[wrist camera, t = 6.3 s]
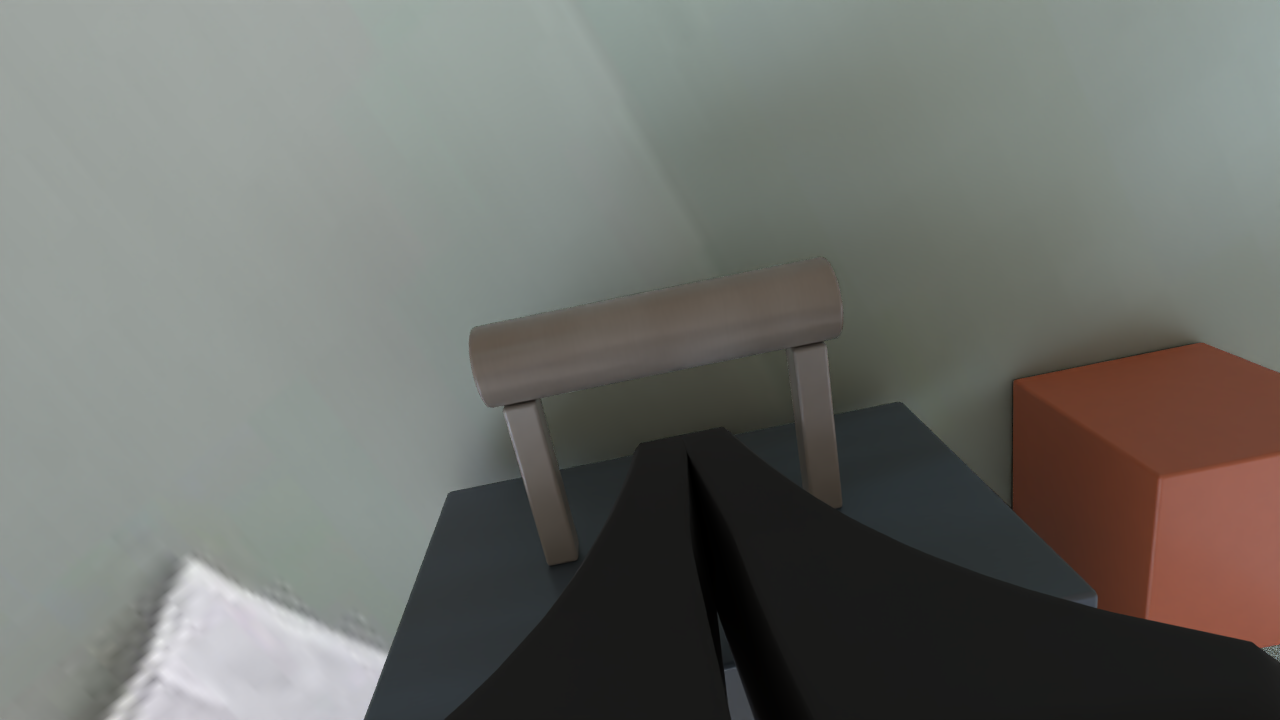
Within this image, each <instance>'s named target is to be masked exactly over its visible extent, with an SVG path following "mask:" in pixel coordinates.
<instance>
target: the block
mask: <svg viewBox="0 0 1280 720" xmlns="http://www.w3.org/2000/svg"><path fill="white" fill-rule="evenodd" d="M1013 511H1014V512H1015V513H1016V514H1017V515H1018V516H1019V517H1020V518H1021V519H1022V520H1023V521H1024V522H1025V523H1026V524H1028V525H1029V526H1030V527H1031V528H1032V529H1033V530H1034V531H1035V532H1036V533H1037V534H1038V535H1039V536H1040V537H1041V538H1042V539H1043V540H1044V541H1045V542H1046V543H1047V544H1048V545H1049V546H1050V547H1051V548H1052V549H1053V550H1054V551H1055V552H1056V553H1057V554H1058V555H1059V556H1060V557H1061V558H1062V559H1063V560H1064V561H1066V562H1067V563H1068V564H1069V565H1070V566H1071V567H1072V568H1073V569H1074V570H1075V571H1076V572H1077V573H1078V574H1079V575H1080V576H1081V577H1082V578H1083V579H1084V580H1085V581H1086V582H1087V583H1088V584H1089V585H1090V586H1091V587H1092V588H1093V589H1094V590H1095V591H1096V593H1097V596H1098V605H1097V608H1098V609H1102V610H1106V611H1110V612H1114V613H1119V614H1124V615H1128V616H1133V617H1138V618H1143V619H1147V620H1152V621H1157V622H1161V623H1166V624H1171V625H1176V626H1180V627H1185V628H1190V629H1194V630H1199V631H1204V632H1208V633H1213V634H1218V635H1223V636H1227V637H1232V638H1237V639H1241V640H1246V641H1251V642H1253V643H1254V644H1255V645H1256V646H1258V647H1259V648H1264V647H1269V646H1274V645H1279V644H1280V373H1278V372H1276V371H1273V370H1271V369H1268V368H1266V367H1263V366H1261V365H1258V364H1256V363H1253V362H1251V361H1248V360H1245V359H1243V358H1240V357H1238V356H1235V355H1233V354H1230V353H1228V352H1225V351H1223V350H1220V349H1218V348H1215V347H1213V346H1210V345H1207V344H1205V343H1195V344H1190V345H1185V346H1180V347H1175V348H1170V349H1165V350H1160V351H1155V352H1150V353H1146V354H1141V355H1136V356H1131V357H1126V358H1121V359H1116V360H1111V361H1106V362H1101V363H1096V364H1091V365H1086V366H1081V367H1076V368H1071V369H1066V370H1061V371H1056V372H1051V373H1046V374H1041V375H1036V376H1031V377H1026V378H1021V379H1016V380H1014V382H1013Z"/></svg>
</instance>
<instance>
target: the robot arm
mask: <svg viewBox="0 0 1280 720" xmlns="http://www.w3.org/2000/svg"><path fill="white" fill-rule="evenodd" d="M717 613H718V616H719V619H720V622H721V625H722V628H723V631H724V633H725V636H726V639H727V642H728V645H729V648H730V651H731V654H732V657H733V659H734V662H735V665H736V668H737V671H738V674H739V677H740V680H741V682H742V685H743V688H744V691H745V694H746V697H747V700H748V703H749V705H750V708H751V711H752V714H753V717H754V720H1280V663H1279V662H1278V661H1277V660H1276V659H1274V658H1273V657H1272V656H1270V655H1269V654H1267V653H1266V652H1265V651H1263V650H1262V649H1261V648H1259V647H1258V646H1256V645H1255V644H1254V643H1253V642H1251V641H1246V640H1241V639H1237V638H1232V637H1227V636H1223V635H1218V634H1213V633H1208V632H1204V631H1199V630H1194V629H1190V628H1185V627H1180V626H1176V625H1171V624H1166V623H1161V622H1157V621H1152V620H1147V619H1143V618H1138V617H1133V616H1128V615H1124V614H1119V613H1114V612H1110V611H1106V610H1102V609H1098V608H1094V607H1091V606H1087V605H1083V604H1080V603H1076V602H1073V601H1069V600H1065V599H1062V598H1058V597H1055V596H1051V595H1048V594H1044V593H1040V592H1037V591H1033V590H1030V589H1026V588H1023V587H1020V586H1017V585H1014V584H1011V583H1008V582H1004V581H1001V580H998V579H995V578H992V577H989V576H986V575H983V574H980V573H978V572H975V571H972V570H970V569H967V568H964V567H962V566H959V565H956V564H953V563H951V562H948V561H945V560H943V559H940V558H937V557H935V556H932V555H930V554H927V553H925V552H922V551H920V550H918V549H915V548H913V547H910V546H908V545H906V544H904V543H901V542H899V541H897V540H895V539H893V538H891V537H889V536H887V535H885V534H883V533H880V532H878V531H876V530H874V529H872V528H870V527H868V526H866V525H864V524H862V523H860V522H858V521H856V520H854V519H852V518H850V517H849V516H847V515H845V514H843V513H841V512H840V511H838V510H836V509H835V508H833V507H831V506H830V505H828V504H826V503H825V502H823V501H821V500H820V499H818V498H816V497H815V496H813V495H812V494H810V493H809V492H807V491H806V490H804V489H803V488H801V487H800V486H798V485H797V484H796V483H794V482H793V481H791V480H790V479H789V478H787V477H786V476H784V475H783V474H781V473H780V472H779V471H777V470H776V469H775V468H773V467H772V466H771V465H769V464H768V463H767V462H766V461H764V460H763V459H762V458H761V457H759V456H758V455H757V454H756V453H754V452H753V451H752V450H751V449H749V448H748V447H747V446H746V445H745V444H744V443H742V442H741V441H740V440H739V439H738V438H737V437H735V436H734V435H733V434H732V433H731V432H729V431H728V430H726V429H725V428H724V427H719V428H714V429H709V430H704V431H699V432H694V433H689V434H684V435H679V436H674V437H669V438H664V439H659V440H654V441H649V442H644V443H640V444H639V446H638V447H637V448H636V450H635V451H634V454H633V458H632V461H631V465H630V468H629V470H628V473H627V476H626V478H625V481H624V483H623V486H622V488H621V490H620V493H619V495H618V497H617V499H616V501H615V503H614V505H613V507H612V510H611V512H610V514H609V516H608V518H607V520H606V522H605V524H604V526H603V528H602V529H601V531H600V533H599V535H598V536H597V538H596V540H595V542H594V543H593V545H592V547H591V548H590V550H589V552H588V554H587V555H586V557H585V559H584V560H583V562H582V564H581V565H580V567H579V568H578V570H577V572H576V573H575V575H574V576H573V578H572V579H571V581H570V582H569V584H568V585H567V586H566V588H565V589H564V591H563V592H562V593H561V595H560V596H559V598H558V599H557V600H556V602H555V603H554V604H553V606H552V607H551V608H550V610H549V611H548V612H547V614H546V615H545V616H544V617H543V619H542V620H541V621H540V622H539V623H538V625H537V626H536V627H535V628H534V629H533V630H532V631H531V632H530V633H529V635H528V636H527V637H526V638H525V639H524V640H523V641H522V642H521V643H520V645H519V646H518V647H517V648H516V649H515V650H514V651H513V652H512V653H511V655H510V656H509V657H508V658H507V659H506V660H505V661H504V662H503V663H502V665H501V666H500V667H499V668H498V669H497V670H496V671H495V672H494V673H493V674H492V675H491V676H490V677H489V678H488V679H487V680H486V681H485V682H484V683H483V684H482V685H481V686H480V687H479V688H477V689H476V690H475V691H474V692H473V693H472V694H471V695H470V696H469V697H468V698H467V699H466V700H465V701H464V702H463V703H462V704H461V705H460V706H458V707H457V708H456V709H455V710H454V711H453V712H452V713H451V714H450V715H448V716H447V717H446V718H445V719H444V720H731V716H730V711H729V706H728V698H727V689H726V681H725V673H724V665H723V656H722V648H721V640H720V632H719V624H718V616H717Z"/></svg>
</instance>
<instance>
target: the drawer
mask: <svg viewBox="0 0 1280 720" xmlns="http://www.w3.org/2000/svg"><path fill="white" fill-rule="evenodd" d="M842 328H843V303H842V297H841V292H840V287H839V284H838V280H837V277H836V275H835V272H834V270H833V268H832V266H831V264H830V263H829V261H828V260H827V259H826V258H824V257H815V258H811V259H806V260H801V261H796V262H791V263H786V264H781V265H776V266H771V267H766V268H761V269H756V270H751V271H746V272H742V273H737V274H732V275H727V276H722V277H717V278H712V279H707V280H702V281H697V282H692V283H687V284H682V285H678V286H673V287H668V288H663V289H658V290H653V291H648V292H643V293H638V294H633V295H628V296H623V297H618V298H613V299H609V300H604V301H599V302H594V303H589V304H584V305H579V306H574V307H569V308H564V309H559V310H554V311H549V312H544V313H540V314H535V315H530V316H525V317H520V318H515V319H510V320H505V321H500V322H495V323H490V324H485V325H480V326H476V327H474V328H472V330H471V332H470V336H469V355H470V363H471V368H472V373H473V377H474V380H475V384H476V387H477V390H478V392H479V394H480V396H481V398H482V400H483V402H484V403H485V405H486V406H488V407H491V408H494V407H499V406H504V408H503V414H504V417H505V421H506V424H507V428H508V431H509V435H510V438H511V442H512V445H513V448H514V452H515V455H516V459H517V462H518V466H519V469H520V472H521V476H522V478H517V479H512V480H507V481H502V482H497V483H492V484H487V485H482V486H477V487H472V488H467V489H462V490H457V491H452V492H450V493H448V495H447V498H446V500H445V503H444V506H443V508H442V511H441V514H440V517H439V519H438V522H437V525H436V527H435V530H434V533H433V535H432V538H431V541H430V543H429V546H428V549H427V551H426V554H425V557H424V560H423V562H422V565H421V568H420V570H419V573H418V576H417V578H416V581H415V584H414V586H413V589H412V592H411V594H410V597H409V600H408V603H407V605H406V608H405V611H404V613H403V616H402V619H401V621H400V624H399V627H398V629H397V632H396V635H395V637H394V640H393V643H392V646H391V648H390V651H389V654H388V656H387V659H386V662H385V664H384V667H383V670H382V672H381V675H380V678H379V680H378V683H377V686H376V689H375V691H374V694H373V697H372V699H371V702H370V705H369V707H368V710H367V713H366V715H365V718H364V720H444V719H445V718H446V717H447V716H448V715H450V714H451V713H452V712H453V711H454V710H455V709H456V708H457V707H458V706H460V705H461V704H462V703H463V702H464V701H465V700H466V699H467V698H468V697H469V696H470V695H471V694H472V693H473V692H474V691H475V690H476V689H477V688H479V687H480V686H481V685H482V684H483V683H484V682H485V681H486V680H487V679H488V678H489V677H490V676H491V675H492V674H493V673H494V672H495V671H496V670H497V669H498V668H499V667H500V666H501V665H502V663H503V662H504V661H505V660H506V659H507V658H508V657H509V656H510V655H511V653H512V652H513V651H514V650H515V649H516V648H517V647H518V646H519V645H520V643H521V642H522V641H523V640H524V639H525V638H526V637H527V636H528V635H529V633H530V632H531V631H532V630H533V629H534V628H535V627H536V626H537V625H538V623H539V622H540V621H541V620H542V619H543V617H544V616H545V615H546V614H547V612H548V611H549V610H550V608H551V607H552V606H553V604H554V603H555V602H556V600H557V599H558V598H559V596H560V595H561V593H562V592H563V591H564V589H565V588H566V586H567V585H568V584H569V582H570V581H571V579H572V578H573V576H574V575H575V573H576V572H577V570H578V568H579V567H580V565H581V564H582V562H583V560H584V559H585V557H586V555H587V554H588V552H589V550H590V548H591V547H592V545H593V543H594V542H595V540H596V538H597V536H598V535H599V533H600V531H601V529H602V528H603V526H604V524H605V522H606V520H607V518H608V516H609V514H610V512H611V510H612V507H613V505H614V503H615V501H616V499H617V497H618V495H619V493H620V490H621V488H622V486H623V483H624V481H625V478H626V476H627V473H628V470H629V468H630V465H631V461H632V458H633V455H631V456H626V457H621V458H616V459H611V460H606V461H601V462H596V463H591V464H586V465H582V466H577V467H572V468H567V469H562V470H560V469H559V466H558V462H557V458H556V454H555V451H554V447H553V443H552V440H551V436H550V432H549V428H548V425H547V421H546V417H545V413H544V410H543V406H542V402H541V398H544V397H549V396H554V395H559V394H564V393H569V392H574V391H579V390H584V389H589V388H593V387H598V386H603V385H608V384H613V383H618V382H623V381H628V380H633V379H638V378H643V377H648V376H653V375H658V374H663V373H668V372H673V371H678V370H683V369H688V368H692V367H697V366H702V365H707V364H712V363H717V362H722V361H727V360H732V359H737V358H742V357H747V356H752V355H757V354H762V353H767V352H772V351H777V350H782V349H786V355H787V363H788V372H789V380H790V388H791V396H792V404H793V412H794V421H795V423H790V424H785V425H781V426H776V427H771V428H766V429H761V430H756V431H751V432H746V433H741V434H736V435H734V436H735V437H737V438H738V439H739V440H740V441H741V442H742V443H744V444H745V445H746V446H747V447H748V448H749V449H751V450H752V451H753V452H754V453H756V454H757V455H758V456H759V457H761V458H762V459H763V460H764V461H766V462H767V463H768V464H769V465H771V466H772V467H773V468H775V469H776V470H777V471H779V472H780V473H781V474H783V475H784V476H786V477H787V478H789V479H790V480H791V481H793V482H794V483H796V484H797V485H798V486H800V487H801V488H803V489H804V490H806V491H807V492H809V493H810V494H812V495H813V496H815V497H816V498H818V499H820V500H821V501H823V502H825V503H826V504H828V505H830V506H831V507H833V508H835V509H836V510H838V511H840V512H841V513H843V514H845V515H847V516H849V517H850V518H852V519H854V520H856V521H858V522H860V523H862V524H864V525H866V526H868V527H870V528H872V529H874V530H876V531H878V532H880V533H883V534H885V535H887V536H889V537H891V538H893V539H895V540H897V541H899V542H901V543H904V544H906V545H908V546H910V547H913V548H915V549H918V550H920V551H922V552H925V553H927V554H930V555H932V556H935V557H937V558H940V559H943V560H945V561H948V562H951V563H953V564H956V565H959V566H962V567H964V568H967V569H970V570H972V571H975V572H978V573H980V574H983V575H986V576H989V577H992V578H995V579H998V580H1001V581H1004V582H1008V583H1011V584H1014V585H1017V586H1020V587H1023V588H1026V589H1030V590H1033V591H1037V592H1040V593H1044V594H1048V595H1051V596H1055V597H1058V598H1062V599H1065V600H1069V601H1073V602H1076V603H1080V604H1083V605H1087V606H1091V607H1094V608H1097V605H1098V596H1097V593H1096V591H1095V590H1094V589H1093V588H1092V587H1091V586H1090V585H1089V584H1088V583H1087V582H1086V581H1085V580H1084V579H1083V578H1082V577H1081V576H1080V575H1079V574H1078V573H1077V572H1076V571H1075V570H1074V569H1073V568H1072V567H1071V566H1070V565H1069V564H1068V563H1067V562H1066V561H1064V560H1063V559H1062V558H1061V557H1060V556H1059V555H1058V554H1057V553H1056V552H1055V551H1054V550H1053V549H1052V548H1051V547H1050V546H1049V545H1048V544H1047V543H1046V542H1045V541H1044V540H1043V539H1042V538H1041V537H1040V536H1039V535H1038V534H1037V533H1036V532H1035V531H1034V530H1033V529H1032V528H1031V527H1030V526H1029V525H1028V524H1026V523H1025V522H1024V521H1023V520H1022V519H1021V518H1020V517H1019V516H1018V515H1017V514H1016V513H1015V512H1014V511H1013V510H1012V509H1011V508H1010V507H1009V506H1008V505H1007V504H1006V503H1005V502H1004V501H1003V500H1002V499H1001V498H1000V497H999V496H998V495H997V494H996V493H995V492H994V491H993V490H992V489H991V488H990V487H988V486H987V485H986V484H985V483H984V482H983V481H982V480H981V479H980V478H979V477H978V476H977V475H976V474H975V473H974V472H973V471H972V470H971V469H970V468H969V467H968V466H967V465H966V464H965V463H964V462H963V461H962V460H961V459H960V458H959V457H958V456H957V455H956V454H955V453H954V452H953V451H952V450H950V449H949V448H948V447H947V446H946V445H945V444H944V443H943V442H942V441H941V440H940V439H939V438H938V437H937V436H936V435H935V434H934V433H933V432H932V431H931V430H930V429H929V428H928V427H927V426H926V425H925V424H924V423H923V422H922V421H921V420H920V419H919V418H918V417H917V416H916V415H915V414H914V413H912V412H911V411H910V410H909V409H908V408H907V407H906V406H905V405H904V404H903V403H902V402H895V403H890V404H885V405H880V406H875V407H870V408H865V409H860V410H855V411H850V412H845V413H840V414H835V415H834V412H833V402H832V392H831V382H830V372H829V362H828V352H827V346H826V344H825V343H824V342H823V341H826V340H831V339H835V338H837V337H839V336H840V334H841V332H842ZM717 616H718V613H717ZM718 624H719V632H720V640H721V648H722V656H723V665H724V673H725V681H726V689H727V698H728V706H729V711H730V716H731V720H754V717H753V714H752V711H751V708H750V705H749V703H748V700H747V697H746V694H745V691H744V688H743V685H742V682H741V680H740V677H739V674H738V671H737V668H736V665H735V662H734V659H733V657H732V654H731V651H730V648H729V645H728V642H727V639H726V636H725V633H724V631H723V628H722V625H721V622H720V619H719V616H718Z"/></svg>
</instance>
